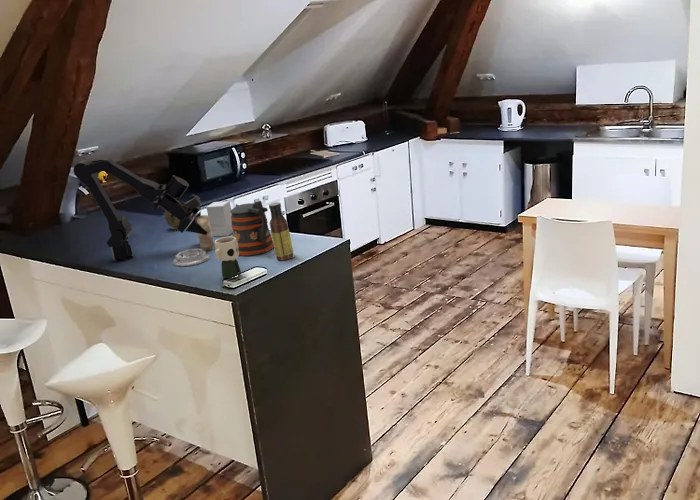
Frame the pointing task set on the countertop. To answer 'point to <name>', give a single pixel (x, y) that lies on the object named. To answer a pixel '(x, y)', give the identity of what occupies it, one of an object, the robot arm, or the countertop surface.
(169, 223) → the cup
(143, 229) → the countertop surface
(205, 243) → the knob post
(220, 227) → the supplement box
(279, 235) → the sauce bottle
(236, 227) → the beer stein
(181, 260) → the socket ring
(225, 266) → the character mug
